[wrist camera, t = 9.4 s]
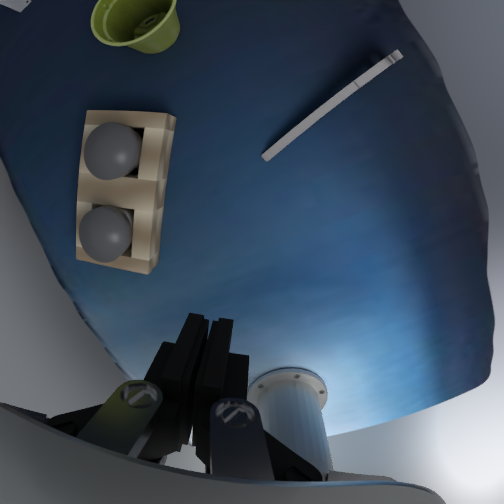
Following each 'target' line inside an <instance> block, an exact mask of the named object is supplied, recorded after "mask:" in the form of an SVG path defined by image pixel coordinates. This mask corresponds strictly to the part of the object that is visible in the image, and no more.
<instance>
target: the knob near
mask: <svg viewBox="0 0 504 504" xmlns="http://www.w3.org/2000/svg"><path fill="white" fill-rule="evenodd" d="M143 136H144V135H143V134H141V133H139V132H135V131H134V130H133V129H132V128H131V127H129V126H127V125H125V124H120V123H115V122H107V123H103V124H101V125H99V126H98V127H96V128H95V129H94V130H93V131H92V132H91V133H90V135H89V136H88V138H87V140H86V143H85V146H84V161H85V164H86V167H87V168H88V170H89V171H90V173H91V174H92V175H93V176H95V177H96V178H98V179H101V180H112V179H117V178H121V177H124V176H126V175H128V174H129V173H130V172H131V171H132V170H136V169H138V168H139V164H140V156H141V149H142V142H143Z"/></svg>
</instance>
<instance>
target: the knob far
mask: <svg viewBox="0 0 504 504" xmlns="http://www.w3.org/2000/svg"><path fill="white" fill-rule="evenodd" d="M133 223H134V209H128V208H121V207H115V206H111V205H104V206H100V207H98V208H95V209H93V210H90V211H89V212H87V213H86V214H85V215H84V216H83V218H82V220H81V222H80V225H79V239H80V243H81V245H82V247H83V249H84V251H85V252H86V253H87V254H88V255H89V256H90V257H91V258H92V259H94V260H96V261H98V262H103V263H107V262H112V261H114V260H116V259H117V258H118V257H119V256H121V255H122V254H123V253H124V252H125V251H126V250H127V249H128V248H129V246H130V244H131V241H132V238H133Z"/></svg>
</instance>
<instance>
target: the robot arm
mask: <svg viewBox="0 0 504 504" xmlns="http://www.w3.org/2000/svg"><path fill="white" fill-rule="evenodd" d="M208 327H209V320H207V319H204V315H200V314H194V313H189V315H188V317H187V319H186V322H185V324H184V326H183V328H182V330H181V333H180V335H179V337H178V339H177V341H176V343H170V342H163V343H162V345H161V347H160V349H159V350H158V352H157V354H156V356H155V358H154V360H153V362H152V364H151V366H150V368H149V370H148V372H147V374H146V376H145V378H144V380H132V381H128V382H125V383H123V384H122V385H120V386H119V387H118V388H117V389H116V391H115V392H114V393H113V394H112V395H111V396H110V397H109V399H108V400H107V401H106V402H105V403H104V404H100V405H97V406H93V407H89V408H85V409H82V410H77V411H73V412H69V413H65V414H61V415H57V416H54V417H52V418H51V419H50V418H48V416H47V415H46V414H42V413H38V412H34V411H30V410H26V409H23V408H19V407H15V406H12V405H9V404H5V403H1V402H0V504H446V503H445V502H444V500H443V499H442V498H441V497H440V496H439V495H438V494H437V493H435V492H434V491H432V490H430V489H428V488H426V487H423V486H419V485H415V484H409V483H403V482H397V481H396V480H394V479H392V478H390V477H385V476H374V475H362V474H353V473H345V472H336V471H334V470H333V465H332V460H331V455H330V450H329V445H328V440H327V436H326V431H325V426H324V422H323V417H322V412H321V410H322V409H323V407H324V405H325V404H326V401H327V389H326V386H325V383H324V382H323V381H322V379H321V378H320V377H318V376H317V375H316V374H314V373H312V372H310V371H306V370H303V369H296V368H287V369H280V370H276V371H272V372H270V373H267V374H265V375H263V376H262V377H260V378H259V379H257V380H256V381H255V382H254V383H253V384H252V386H251V387H250V388H249V391H248V394H247V387H248V369H249V355H242V354H235V353H229V350H230V342H231V335H232V328H233V320H232V319H225V318H219V321H213V323H212V326H211V329H210V333H209V336H208ZM207 338H208V340H207ZM192 426H193V436H192V446H196V456H197V457H198V458H199V459H200V460H201V461H202V462H203V463H204V464H205V473H200V472H194V471H188V470H184V469H179V468H174V467H169V466H165V465H164V464H165V462H166V459H167V455H168V454H170V453H173V452H175V451H178V452H180V450H181V446H182V444H185V445H188V442H189V438H190V434H191V430H192Z"/></svg>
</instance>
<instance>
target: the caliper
mask: <svg viewBox="0 0 504 504" xmlns="http://www.w3.org/2000/svg"><path fill="white" fill-rule="evenodd" d="M402 57H403V56H402V55H401V53H400V52H399V51H398V50H396V51H394V52H393V53H391V54H390V55H389V56H387V57H386V58H384V59H383V60H382V61H380V62H379V63H377V64H376V65H374V66H373V67H372V68H370V69H369V70H368V71H366V72H365V73H364V74H362V75H361V76H360V77H358V78H357V79H355V80H354V81H353V82H351V83H350V84H349V85H348V86H346V87H345V88H344V89H342V90H341V91H340V92H338V93H337V94H336V95H334V96H333V97H332V98H331V99H329V100H328V101H327V102H325V103H324V104H323V105H322V106H320V107H319V108H318V109H317V110H315V111H314V112H313V113H312V114H310V115H309V116H308V117H307V118H305V119H304V120H303V121H302V122H300V123H299V124H298V125H297V126H296V127H294V128H293V129H292V130H291V131H290V132H288V133H287V134H286V135H285V136H283V137H282V138H281V139H280V140H279V141H278V142H276V143H275V144H274V145H273V146H272V147H270V148H269V149H268V150H267V151H266V152H265V153H263V154H262V155H261V156H262V157H263V158H264V159H265V161H266V162H267V161H269V160H270V159H271V158H272V157H273V156H275V155H276V154H277V153H278V152H280V151H281V150H282V149H283V148H284V147H286V146H287V145H288V144H289V143H290V142H292V141H293V140H294V139H295V138H296V137H298V136H299V135H300V134H301V133H303V132H304V131H305V130H306V129H308V128H309V127H310V126H311V125H312V124H314V123H315V122H316V121H317V120H319V119H320V118H321V117H323V116H324V115H325V114H326V113H328V112H329V111H330V110H331V109H333V108H334V107H335V106H337V105H338V104H339V103H340V102H342V101H343V100H344V99H346V98H347V97H348V96H350V95H351V94H352V93H353V92H355V91H356V90H357V89H359V88H360V87H362V86H363V85H364V84H366V83H367V82H368V81H370V80H371V79H372V78H374V77H375V76H377V75H378V74H379V73H381V72H382V71H383V70H385V69H386V68H388V67H389V66H390V65H392V64H394V63H395V62H396V61H398V60H399V59H401V58H402Z"/></svg>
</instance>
